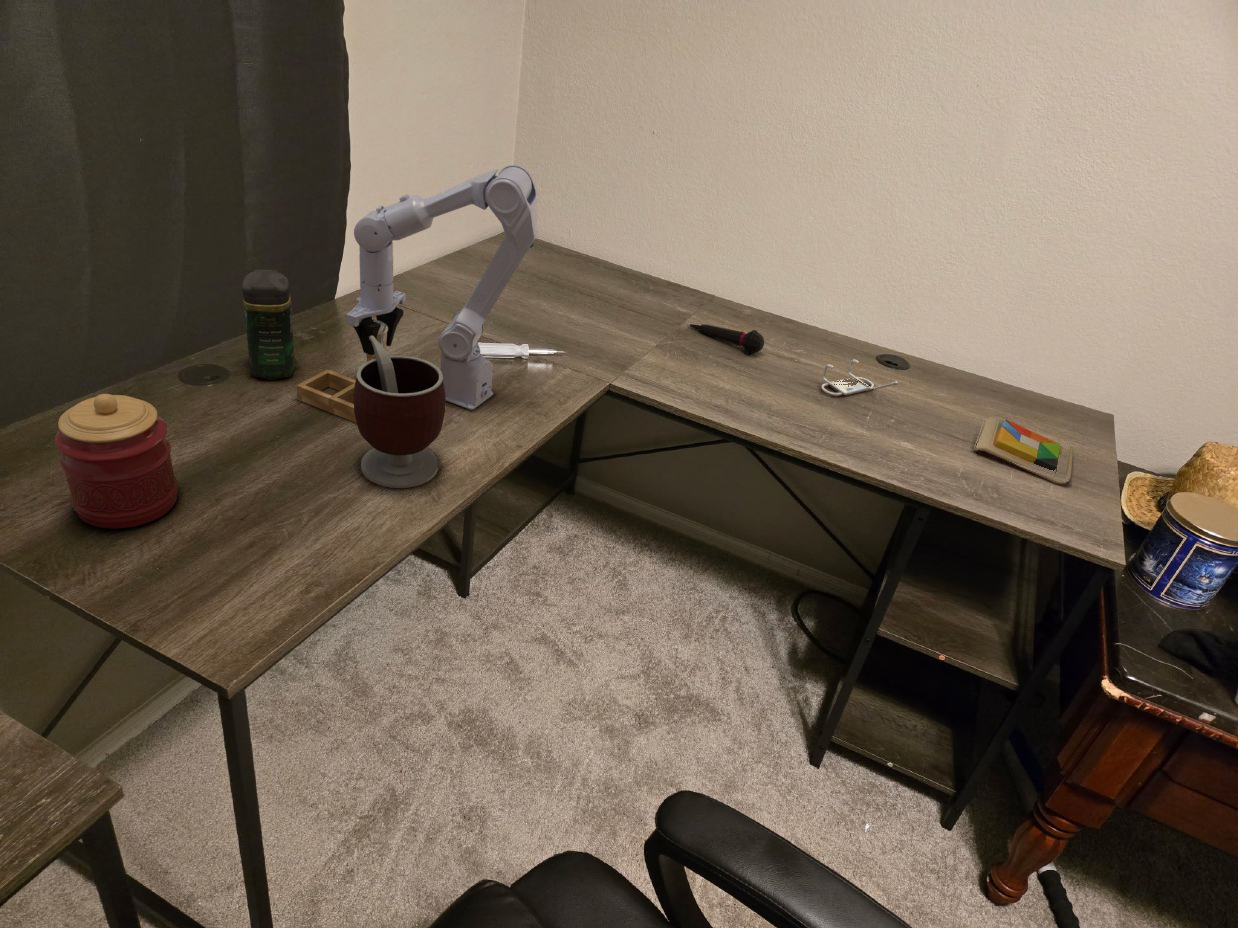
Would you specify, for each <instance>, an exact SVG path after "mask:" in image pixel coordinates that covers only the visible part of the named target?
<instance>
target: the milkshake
mask: <svg viewBox="0 0 1238 928" xmlns="http://www.w3.org/2000/svg"><path fill="white" fill-rule="evenodd" d="M373 320H374V322H376V323H379V324H381V326H380V329H379V331H378V335H377V341H378V342H379V343H380V344H381V345H382V347H383V348H384V349H385V350H386V351H387V346H386V344H387V334H388V326H387V324H385V323H383V322H381V321H378V320H377V319H373ZM365 354H366V362H367V361H369V360H372V359H375V358H376V356H375V354H374V355H369V354H367V353H365Z"/></svg>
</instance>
